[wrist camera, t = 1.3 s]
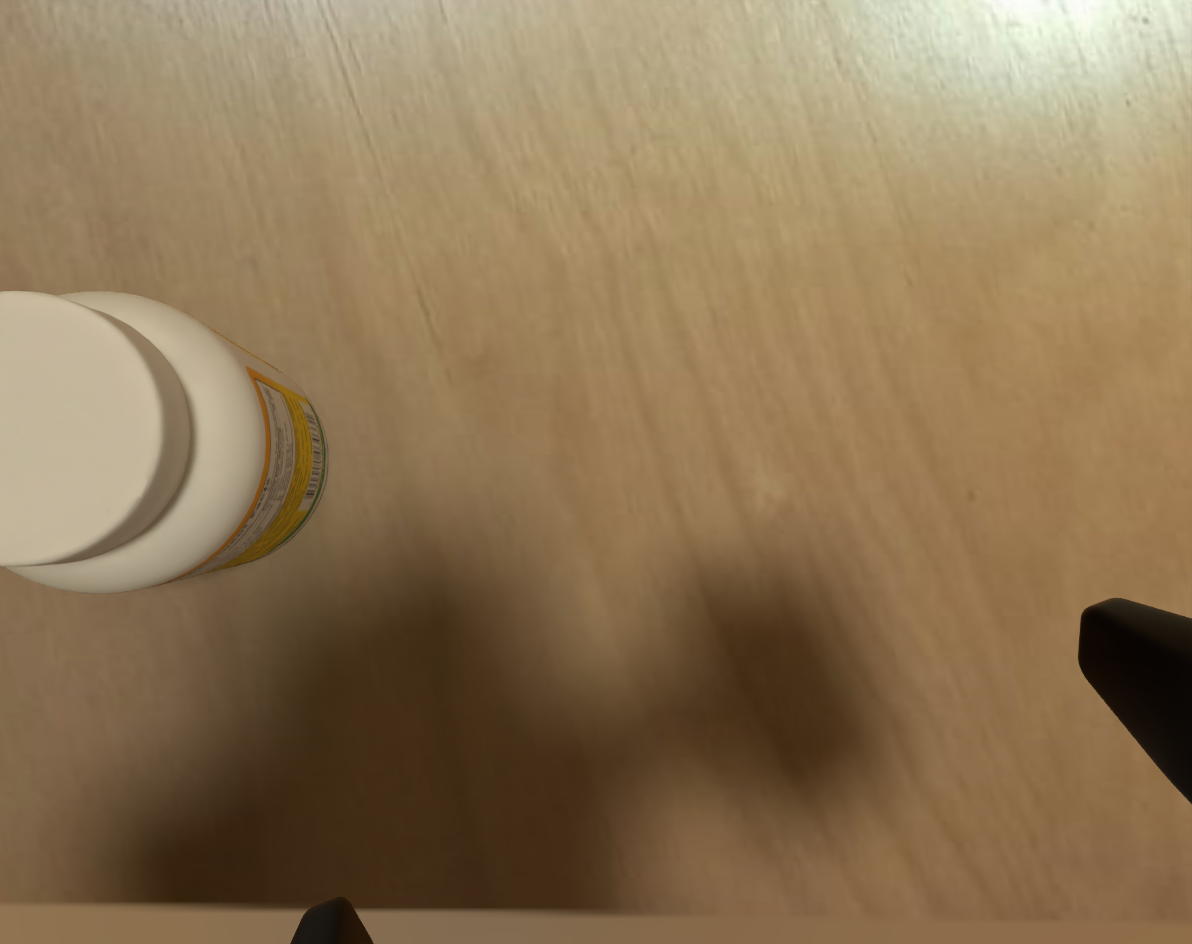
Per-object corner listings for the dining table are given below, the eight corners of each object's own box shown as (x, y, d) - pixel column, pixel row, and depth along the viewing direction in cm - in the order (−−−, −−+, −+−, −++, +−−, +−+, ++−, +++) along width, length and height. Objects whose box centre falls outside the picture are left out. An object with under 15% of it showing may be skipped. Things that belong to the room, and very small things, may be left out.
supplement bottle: (375, 470, 22) (293, 450, 13) (209, 610, 22) (-7, 700, 12) (233, 310, 22) (39, 166, 12) (60, 447, 21) (-283, 408, 12)
